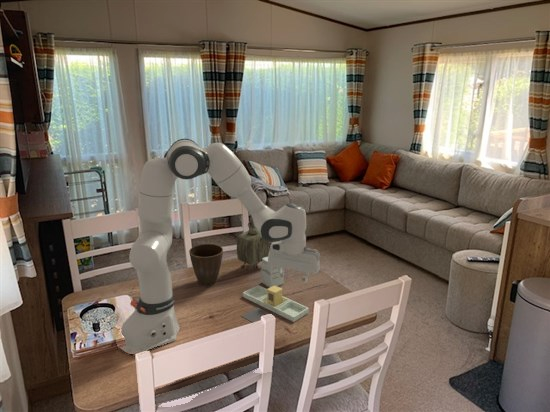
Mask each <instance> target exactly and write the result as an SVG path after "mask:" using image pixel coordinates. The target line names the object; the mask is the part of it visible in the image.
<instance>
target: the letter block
mask: <svg viewBox="0 0 550 412" xmlns="http://www.w3.org/2000/svg"><path fill="white" fill-rule="evenodd" d="M266 289H267V303H268V304H270V305H272V306H274V307H277V306H278V305H280V304H282V300H283V288H282V287H280V286H275V285H274V286H272V287H270V288H269V287H268V288H266Z"/></svg>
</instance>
